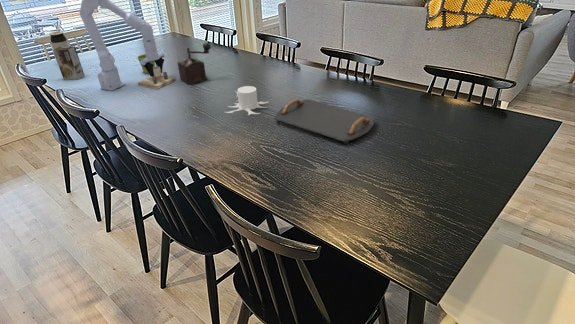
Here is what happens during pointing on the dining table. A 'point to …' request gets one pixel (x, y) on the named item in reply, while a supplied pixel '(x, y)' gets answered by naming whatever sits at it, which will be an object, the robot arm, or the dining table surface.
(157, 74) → the sleeve
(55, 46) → the travel mug
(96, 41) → the robot arm
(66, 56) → the coffee box
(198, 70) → the manual coffee grinder
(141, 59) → the plant pot
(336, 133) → the serving board
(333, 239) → the dining table surface
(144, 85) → the pin board
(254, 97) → the tree stump
